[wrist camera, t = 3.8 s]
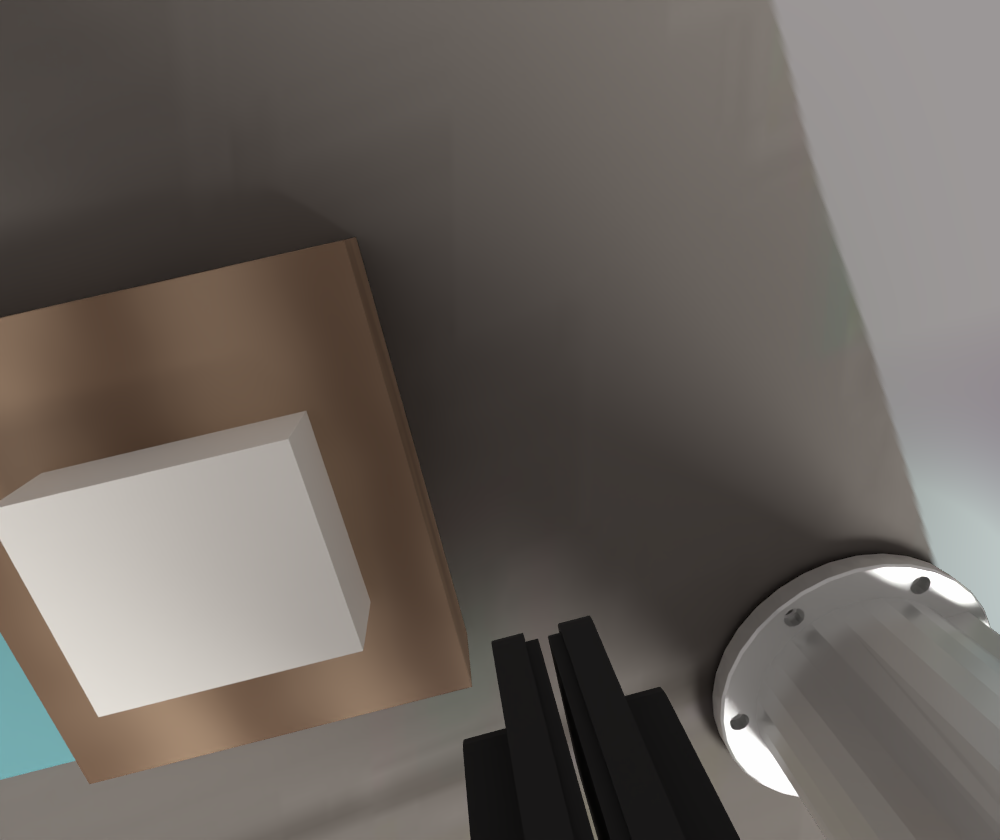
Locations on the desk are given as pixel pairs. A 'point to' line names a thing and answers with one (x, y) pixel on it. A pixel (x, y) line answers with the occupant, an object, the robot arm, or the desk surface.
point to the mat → (25, 724)
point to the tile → (190, 563)
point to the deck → (215, 407)
